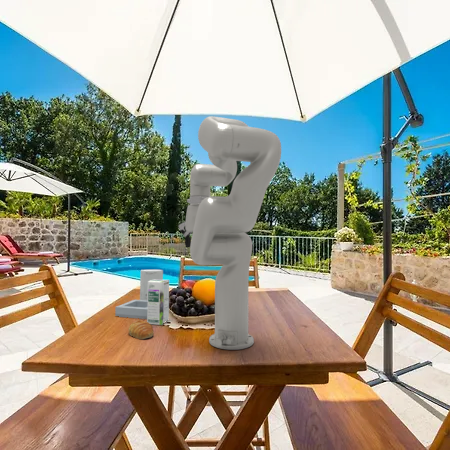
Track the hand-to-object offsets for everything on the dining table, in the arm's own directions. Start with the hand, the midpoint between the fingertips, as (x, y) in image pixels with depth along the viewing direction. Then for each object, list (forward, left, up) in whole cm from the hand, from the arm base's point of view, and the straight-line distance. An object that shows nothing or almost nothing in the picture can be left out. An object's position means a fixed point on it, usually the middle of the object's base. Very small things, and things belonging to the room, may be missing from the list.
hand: (200, 247), depth 119 cm
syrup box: (-12, +11, -26) cm, 30 cm away
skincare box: (+11, +26, -26) cm, 38 cm away
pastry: (-25, +10, -26) cm, 37 cm away
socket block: (-3, +23, -25) cm, 34 cm away
